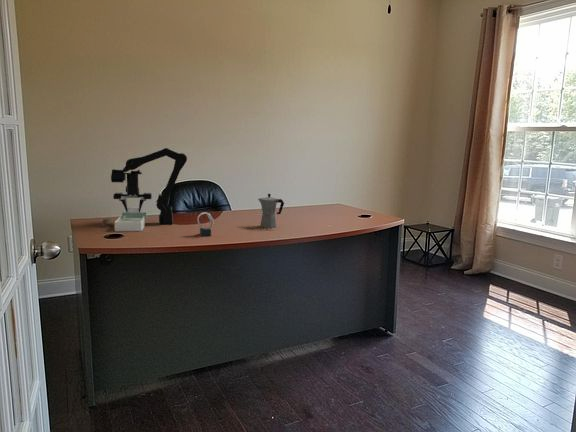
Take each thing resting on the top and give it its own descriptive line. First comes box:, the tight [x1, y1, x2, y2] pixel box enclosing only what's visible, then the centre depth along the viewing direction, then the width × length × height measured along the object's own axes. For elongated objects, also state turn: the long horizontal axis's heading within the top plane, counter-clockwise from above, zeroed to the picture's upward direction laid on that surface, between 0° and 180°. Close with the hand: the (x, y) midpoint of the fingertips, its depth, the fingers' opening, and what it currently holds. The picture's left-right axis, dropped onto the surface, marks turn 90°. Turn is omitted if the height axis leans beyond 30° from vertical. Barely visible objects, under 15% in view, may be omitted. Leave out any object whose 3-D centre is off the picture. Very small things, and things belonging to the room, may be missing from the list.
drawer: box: [120, 211, 148, 222], centre depth 237 cm, size 12×16×4 cm
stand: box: [102, 218, 112, 228], centre depth 230 cm, size 4×4×4 cm
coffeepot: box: [257, 193, 285, 229], centre depth 244 cm, size 15×9×18 cm, turn 66°
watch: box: [196, 212, 215, 237], centre depth 218 cm, size 6×8×11 cm
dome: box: [127, 207, 139, 213], centre depth 239 cm, size 6×6×2 cm
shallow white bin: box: [114, 216, 146, 232], centre depth 228 cm, size 12×16×4 cm
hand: (133, 212), depth 239 cm, fingers closed on dome, 6 cm apart
